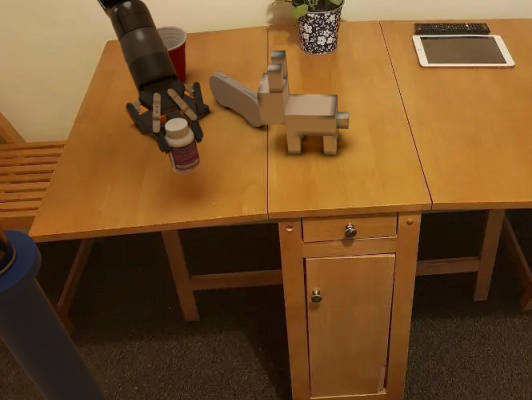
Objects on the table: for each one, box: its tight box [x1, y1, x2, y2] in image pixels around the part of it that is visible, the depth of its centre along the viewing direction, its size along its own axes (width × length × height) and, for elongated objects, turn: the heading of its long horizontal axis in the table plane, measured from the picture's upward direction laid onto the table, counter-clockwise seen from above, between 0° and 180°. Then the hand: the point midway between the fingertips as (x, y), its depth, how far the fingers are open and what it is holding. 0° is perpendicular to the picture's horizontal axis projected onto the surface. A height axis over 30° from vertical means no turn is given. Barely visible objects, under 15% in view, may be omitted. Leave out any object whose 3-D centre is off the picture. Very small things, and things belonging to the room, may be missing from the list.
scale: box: [133, 93, 211, 138], centre depth 132 cm, size 14×10×4 cm
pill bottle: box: [165, 118, 201, 175], centre depth 106 cm, size 5×5×10 cm
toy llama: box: [256, 49, 350, 156], centre depth 118 cm, size 8×18×20 cm, turn 85°
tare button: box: [160, 114, 167, 124], centre depth 127 cm, size 3×3×2 cm
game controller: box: [208, 71, 263, 128], centre depth 131 cm, size 20×2×8 cm, turn 44°
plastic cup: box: [156, 25, 188, 84], centre depth 142 cm, size 11×11×12 cm
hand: (183, 147), depth 104 cm, fingers closed on pill bottle, 5 cm apart
